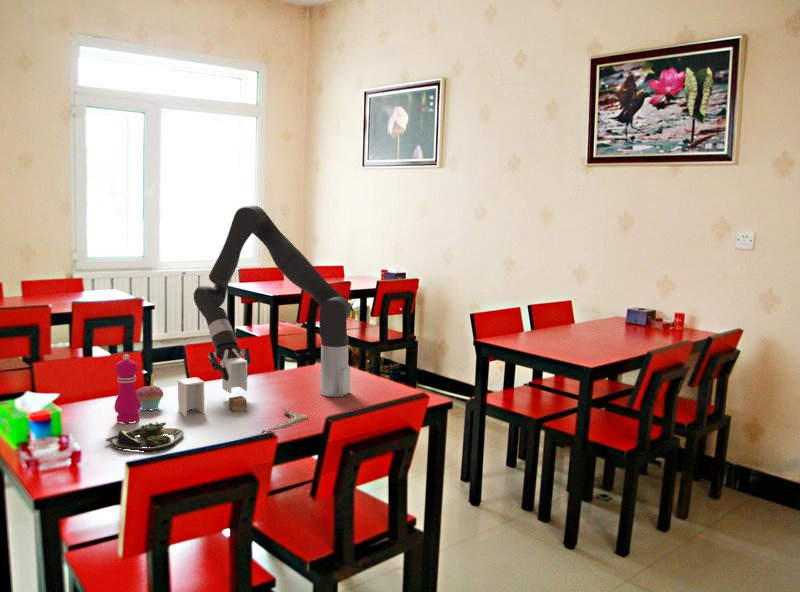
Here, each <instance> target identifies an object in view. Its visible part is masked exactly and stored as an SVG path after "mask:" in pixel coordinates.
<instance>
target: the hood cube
mask: <svg viewBox="0 0 800 592" xmlns="http://www.w3.org/2000/svg"><path fill="white" fill-rule="evenodd" d="M222 360H223V359H222ZM224 363H225V368H226V370H227V373H228V376H229V379H228V381H225V379H223V378H222V390H224V391H225V392H227V393H228V394H232V389H233V388H240V389H242V390H244V391H245V392H246V391H248V377H247V368H248V367H247V360H245V359H244V357H242V358H230V359H227V360H224Z"/></svg>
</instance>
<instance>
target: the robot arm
mask: <svg viewBox="0 0 800 592" xmlns="http://www.w3.org/2000/svg"><path fill="white" fill-rule="evenodd" d="M251 235H254V236H255V237H256V238H258V239H259V240H260V242H261V243H262V244H263V245H264V246H265V247H266V249H267V250H268V253H269V255H270V256H271V258H272V260H273V262H274V264H275V266H276V267H277V268H278V270H279V271H280V272H281V273H282V274H283V276H285V278H287V279H288V280H289V281H290V282H291V283H292V284H294V285H295V286H296V287H297V288H299V289H301V290H302V291H304V292H306V294H309V296H311V297H312V298H313V299H314V300H315V302H316V303H317V304H318V305H319V306H320V308H319V314H318V315H319V316H318V317H319V318H318V319H319V336H320V337H319V338H320V341H321V342H320V394H321V396H324V397H325V396H326V397H330V398H331V397H332V398H334V397H335V398H337V397H341V398H342V397H345V396H347V394H349V393H351V365H349V336H348V333H347V329H348V328H347V327H348V326H347V325H348V324H347V323H348V322H347V321H348V319H349V317H350V316H351V311H352V310H351V305H350V303H349V301H348V300H347V299H346V297H344V296H343V295H342V294H341V293H339V292H338V291H337V290H336V289H335V288H333V287H332V285H331V284H329V283H328V282H327V281H326V280H325V278H324V277H323V276H322V275H321V274H320V273H319V271H318V270H317V269H316V268H315V266H313V264H312V263H311V262H310V261H309V259H307V258H306V256H305V255H304V254H303V253H302V252H301V251H300V250H299V249H298V248H297V247H296V246H295V245H294V244H293V243H292V241H290V240H289V238H287V236H285V235H284V234H283V233H282V232H281V230H280V229H279V228H278V227H277V226H276V224H275V223H274V222H273V220H272V219H271V217H270V216H269V215H268V213H266V211H265V210H264V209H263V208H261V206H257V205H254V204H253V205H252V204H251V205H246V206H242V207H239V208H238V209H237V210H236V212H235V213H234V215H233V218H232V221H231V224H230V227H229V232H228V234H227V236H226V240H225V242H224V245H223V246H222V249H221V251H220V252H219V253H220V254H219V255H218V258H217V259H216V261H215V263H214V264H213V266H212V269H211V271H210V272H209V275H208V279H209V281H210V282H211V283H213V284H214V285H215V286H214V287H212V286H208V285H200V286H197V287H196V288H195V290H194V292H193V301H194V304H195V305H196V307H197V309H198V311H199V312H200V313H201V314H202V316H203V317H204V319H205V321H206V324H207V326H208V331H209V337H210V338H211V341H212V344H213V347H214V351H215V352H213V351H210V352H209V353H208V356H207V358H208V361H209V363H210V365H211V367H212V369H213V371H215V372H217V371H219V372H220V374H221V377H222V380H223V379H225V381H228V379H229V376H228V373H227V370H226V368H225V363H224V360H227V359H230V358H243V359H245V360H247V378H248V377H249V375H250V372H249V369H248V368H249V367H250V365H251V363H252V359H251V355H250V349H249V348H248V347H245V349H244V348H243V349H242V348H240V347H239V346H238V341H237V339H236V335H235V332H234V331H233V327H232V325H231V323H230V321H229V318H228V316H227V312H226V310H225V309H224V308H222V306H223V304H224V303H225V300H226V296H227V291H228V287H229V284H230V281H231V279H232V277H233V276H234V273H235V271H236V270H237V267H238V264H239V260H240V256H241V253H242V250H243V248H244V245H245V244H246V242H247V241H248V239H249V238H250V236H251ZM217 358H218V359H219V360H220V364H219V361H218V360H217ZM222 359H223V360H222Z"/></svg>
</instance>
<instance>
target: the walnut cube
mask: <svg viewBox="0 0 800 592" xmlns="http://www.w3.org/2000/svg"><path fill="white" fill-rule="evenodd" d="M228 411H230V412H231V413H233V414H238V413H244V412H247V398H245V397H244V396H242V395H239V396H231V397H228Z"/></svg>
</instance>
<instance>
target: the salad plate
mask: <svg viewBox="0 0 800 592" xmlns="http://www.w3.org/2000/svg"><path fill="white" fill-rule="evenodd" d="M166 425H167V422H159V421H155V423H152V422H149V423H148V424H147V423H146V424H142V425H141V426H138V427H132V428H130V429H128V430H127V431H126V430H123V429H120V430H119V431H118V434H117V435H114V436H113V435H112V436H110V437H107V438H106V439H105V442H108V443H110V444H111V445H112V446H113V447H114V446H115V447H117V448H121V449H130V450H139V451H144V452H148V453H154V452H153V451H158V452H161V451H160V450H162V451H165V450H167V449H169V448H171V447H173V446H174V445H175V444H176V443H177V442H178V441H179V440H180V439H181V438H182V437H183V436H184V434H185V432H184V430H183V429H180V428H174V427H173V428H171V427H164V426H166ZM163 434H168V435H173V436H174V440H173V439H172V437H171V436H167V435H166V436H165V435H164V436H163ZM137 435H140V437H135V436H137ZM174 443H175V444H174ZM115 447H114V448H115ZM142 447H147V448H142ZM149 447H150V448H149ZM164 449H165V450H164Z"/></svg>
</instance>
